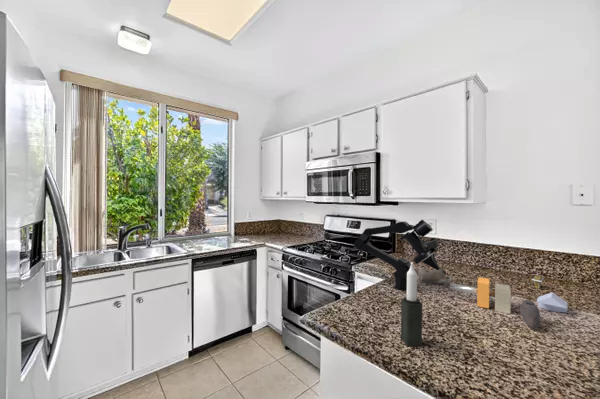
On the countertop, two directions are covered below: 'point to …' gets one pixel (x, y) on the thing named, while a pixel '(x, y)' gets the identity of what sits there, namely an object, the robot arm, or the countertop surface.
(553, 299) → the pale blue faceted stone
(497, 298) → the pipe stand
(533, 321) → the perforated stone tool
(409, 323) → the candle
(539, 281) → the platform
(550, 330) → the countertop surface
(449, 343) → the countertop surface
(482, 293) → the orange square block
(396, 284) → the robot arm
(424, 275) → the grey lumpy stone
